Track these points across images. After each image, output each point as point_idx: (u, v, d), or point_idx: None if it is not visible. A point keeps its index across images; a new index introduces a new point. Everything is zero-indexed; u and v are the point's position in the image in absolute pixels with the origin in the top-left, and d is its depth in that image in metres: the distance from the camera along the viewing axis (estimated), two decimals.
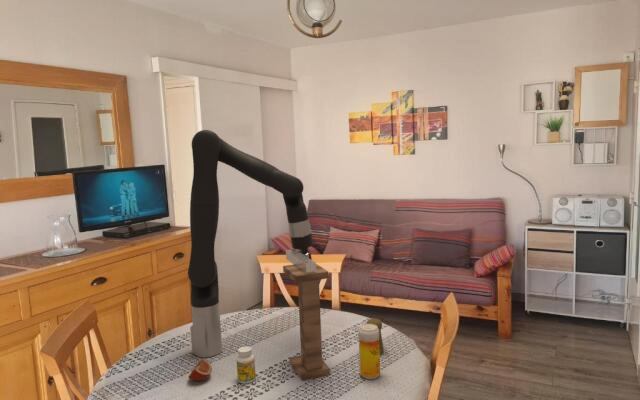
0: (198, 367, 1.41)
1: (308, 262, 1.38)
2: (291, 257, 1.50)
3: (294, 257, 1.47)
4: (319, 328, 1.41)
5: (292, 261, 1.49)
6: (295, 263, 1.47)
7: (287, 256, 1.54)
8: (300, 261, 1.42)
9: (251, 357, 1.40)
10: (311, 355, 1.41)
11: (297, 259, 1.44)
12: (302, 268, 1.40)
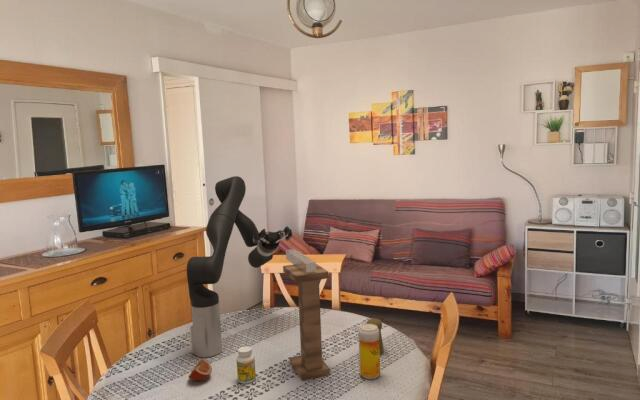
0: (198, 367, 1.41)
1: (308, 262, 1.38)
2: (291, 257, 1.50)
3: (294, 257, 1.47)
4: (319, 328, 1.41)
5: (292, 261, 1.49)
6: (295, 263, 1.47)
7: (287, 256, 1.54)
8: (300, 261, 1.42)
9: (251, 357, 1.40)
10: (311, 355, 1.41)
11: (297, 259, 1.44)
12: (302, 268, 1.40)
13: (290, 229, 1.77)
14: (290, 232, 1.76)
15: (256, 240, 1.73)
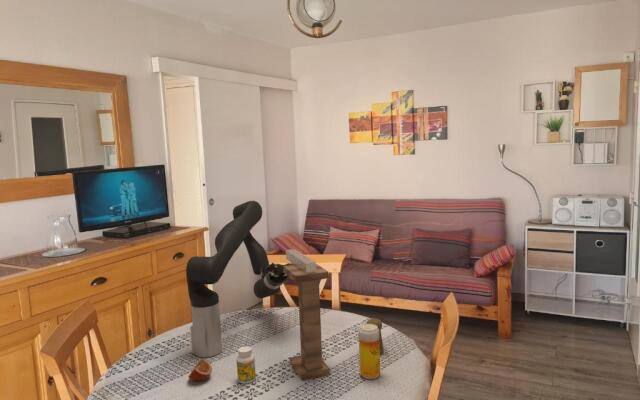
0: (198, 367, 1.41)
1: (308, 262, 1.38)
2: (291, 257, 1.50)
3: (294, 257, 1.47)
4: (319, 328, 1.41)
5: (292, 261, 1.49)
6: (295, 263, 1.47)
7: (287, 256, 1.54)
8: (300, 261, 1.42)
9: (251, 357, 1.40)
10: (311, 355, 1.41)
11: (297, 259, 1.44)
12: (302, 268, 1.40)
13: None
14: None
15: (264, 274, 1.65)
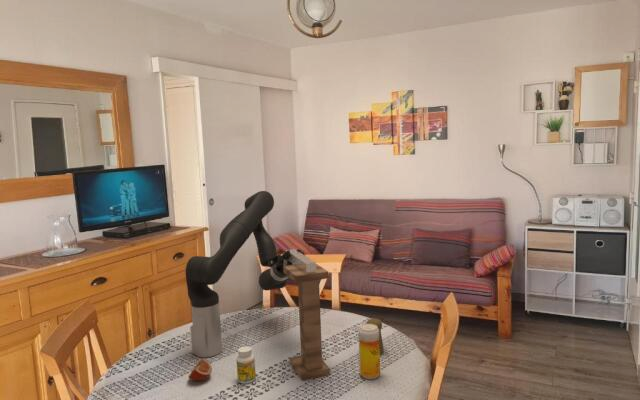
0: (198, 367, 1.41)
1: (308, 262, 1.38)
2: (291, 257, 1.50)
3: (294, 257, 1.47)
4: (319, 328, 1.41)
5: (292, 261, 1.49)
6: (295, 263, 1.46)
7: None
8: (300, 261, 1.42)
9: (251, 357, 1.40)
10: (311, 355, 1.41)
11: (297, 259, 1.44)
12: (302, 268, 1.40)
13: (301, 252, 1.57)
14: None
15: (278, 263, 1.55)
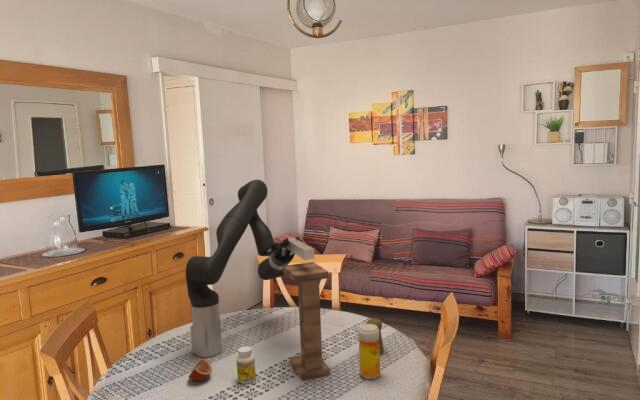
0: (198, 367, 1.41)
1: (306, 249, 1.39)
2: (289, 245, 1.50)
3: (292, 244, 1.47)
4: (319, 328, 1.41)
5: (290, 248, 1.50)
6: (293, 250, 1.47)
7: None
8: (298, 248, 1.42)
9: (251, 357, 1.40)
10: (311, 355, 1.41)
11: (295, 246, 1.45)
12: (300, 255, 1.41)
13: (300, 240, 1.58)
14: None
15: (276, 250, 1.55)
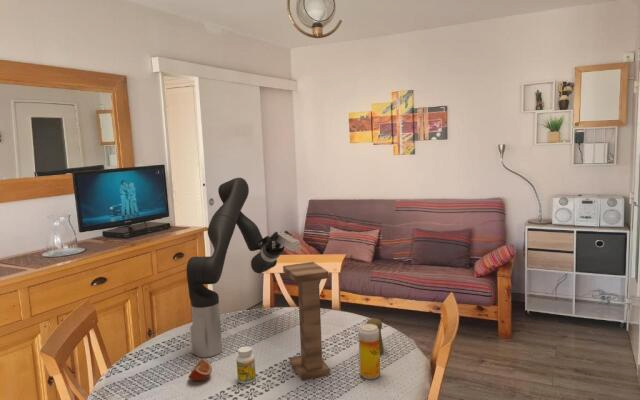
0: (198, 367, 1.41)
1: (293, 241, 1.50)
2: (279, 238, 1.62)
3: (281, 237, 1.59)
4: (319, 328, 1.41)
5: (279, 241, 1.61)
6: (282, 243, 1.58)
7: None
8: (286, 240, 1.54)
9: (251, 357, 1.40)
10: (311, 355, 1.41)
11: (284, 239, 1.56)
12: (288, 247, 1.52)
13: (289, 234, 1.69)
14: None
15: (267, 243, 1.67)
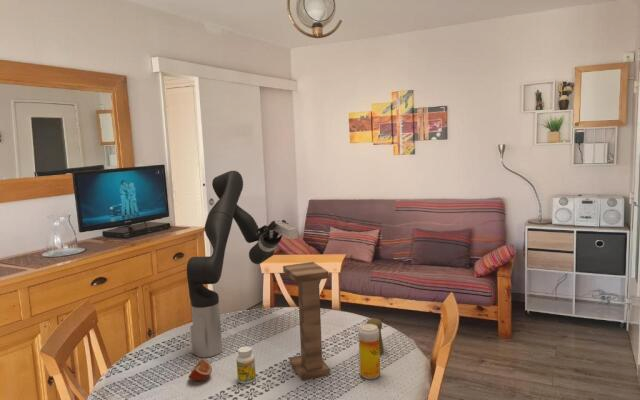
0: (198, 367, 1.41)
1: (290, 229, 1.52)
2: (276, 227, 1.64)
3: (279, 226, 1.61)
4: (319, 328, 1.41)
5: (277, 230, 1.63)
6: (279, 231, 1.60)
7: None
8: (283, 229, 1.56)
9: (251, 357, 1.40)
10: (311, 355, 1.41)
11: (281, 227, 1.58)
12: (285, 235, 1.54)
13: (286, 223, 1.71)
14: None
15: (264, 233, 1.69)
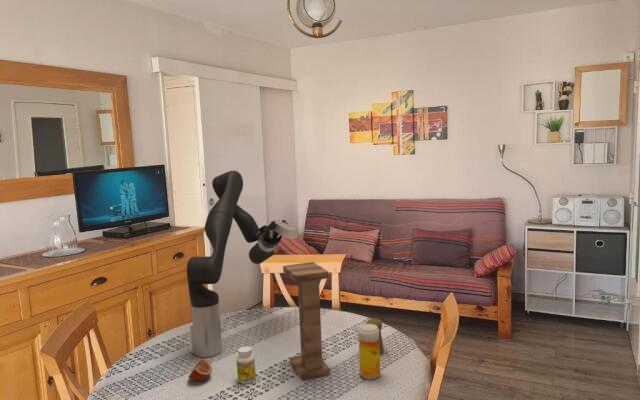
0: (198, 367, 1.41)
1: (290, 229, 1.52)
2: (276, 227, 1.64)
3: (279, 226, 1.61)
4: (319, 328, 1.41)
5: (277, 230, 1.63)
6: (279, 231, 1.60)
7: None
8: (283, 229, 1.56)
9: (251, 357, 1.40)
10: (311, 355, 1.41)
11: (281, 227, 1.58)
12: (285, 235, 1.54)
13: (286, 223, 1.71)
14: None
15: (264, 233, 1.69)
